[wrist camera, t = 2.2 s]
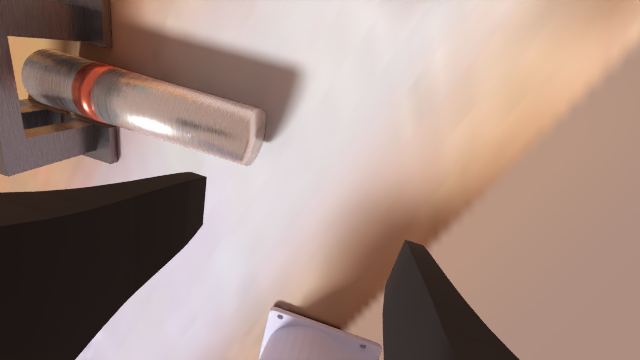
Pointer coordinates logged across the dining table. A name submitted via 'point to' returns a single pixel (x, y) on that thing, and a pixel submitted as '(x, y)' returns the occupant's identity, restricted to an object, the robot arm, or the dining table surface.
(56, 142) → the grey holder stand
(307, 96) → the dining table surface
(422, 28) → the dining table surface
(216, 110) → the silver cylinder
